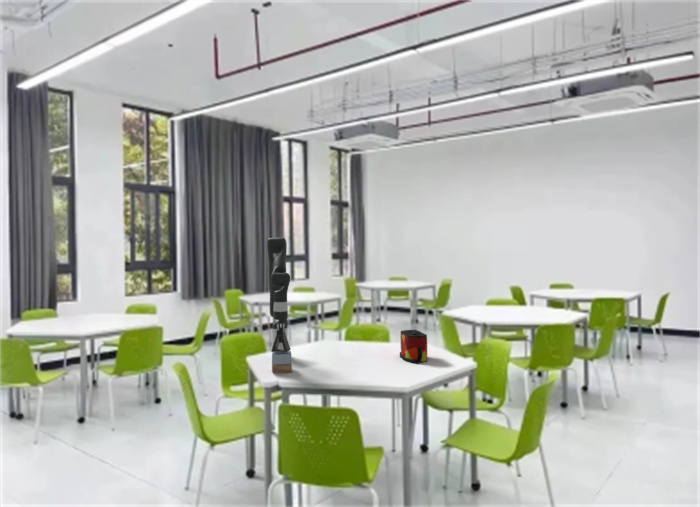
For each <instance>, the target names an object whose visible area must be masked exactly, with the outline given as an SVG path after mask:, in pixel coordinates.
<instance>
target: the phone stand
mask: <svg viewBox="0 0 700 507" xmlns="http://www.w3.org/2000/svg"><path fill="white" fill-rule="evenodd" d="M278 333H279V332H278V330H277V335H276V338H275V341H274V344H273V347H271V349H270V350H271V351H270V352H271V353H272V352H288V351H291V346H290V343H289V340H287V337H286V335H285V328H284V332H283V333H284V335H283V343H282V344H283V348H284V349H278V346H279V335H278ZM280 333H282V331H281V332H280Z"/></svg>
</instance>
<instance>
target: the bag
mask: <svg viewBox="0 0 700 507" xmlns="http://www.w3.org/2000/svg"><path fill="white" fill-rule="evenodd" d="M399 358H400V359H401V358H402V359H401V360H403V362H406V363H411V364H414V365H417V364H421V363H427V361H428V335H427V334H426V333H424V332H422V331H420V330H416V329H405V330H400V352H399Z"/></svg>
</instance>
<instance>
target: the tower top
mask: <svg viewBox="0 0 700 507" xmlns="http://www.w3.org/2000/svg"><path fill="white" fill-rule="evenodd" d="M291 363H292V351H291V350H290V351H288V352H271V365H272V364H291Z"/></svg>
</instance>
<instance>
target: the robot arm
mask: <svg viewBox="0 0 700 507" xmlns="http://www.w3.org/2000/svg"><path fill="white" fill-rule="evenodd" d="M287 248H288V247H287V240H286V238H285V237H269V238H268V239H267V243H266V249H267V257H268V259H267V260H268V282H269V283H268V285H269V315H270V316H271V317H272V318H273V319H274V320H275V322H273V323H272V326H271V327H272V328H271V329H272V330H271V331H272V332H271V334H272V336H271V337H272V338H271V341H272V344H271V345H272V347H273V344H274V341H275V338H276V335H277V330H278V332H279V333H278V335H279V346H278V349H284V348H283V344H282V343H283V335H284V333H283V332H284V328H285V335H286V337H287V340H288V336H289V335H288V333H289V332H288V318H289V313H288V312H289V309H288V308H289V307H288V306H289V305H288V291H289V285H290V282H291V275H290V273H288V272H287V267H286V266H287V264H286V263H287V262H286V260H287ZM274 254H275V255H276V254H277V256H276V257H275V256H274ZM281 331H282V333H280V332H281ZM288 341H289V340H288ZM272 347H271V348H272Z"/></svg>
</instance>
